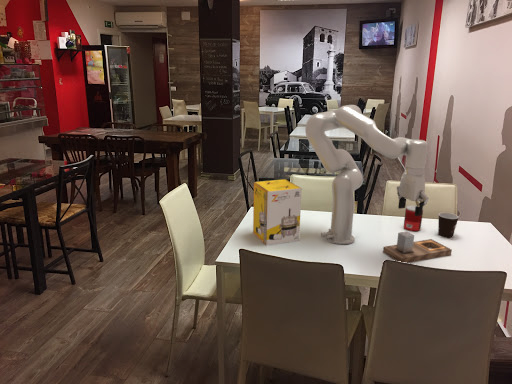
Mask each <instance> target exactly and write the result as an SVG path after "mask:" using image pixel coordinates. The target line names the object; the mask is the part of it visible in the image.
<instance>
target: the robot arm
mask: <svg viewBox="0 0 512 384" xmlns="http://www.w3.org/2000/svg"><path fill="white" fill-rule="evenodd" d="M340 128H345V129H346V130H348V131H349V132H352V133H353V134H355V136H358V137H359V138H361V139H362V140H363V141H364V142H365V143H366V144H367V146H369V147H370V148H371V149H372V150H374V151H375V152H377V153H378V154H381V155H382V156H383V157H386V158H387V159H391V160H392V159H393V160H395V159H397V158H401V157H402V156H405V163H404V164H405V165H404V172H402V175H401V179H400V182H399V186H396V192H397V193H396V194H397V197H398V207H397V208H398V209H406V205H407V203H406V202H407V200H409V201H411V202H414V203H415V206H416V207H415V216H421V215H422V210H423V211H424V207H425V205H426V204H428V203H427V202H428V201H429V200H430V198H429V197H428V195H427V194H426V192H425V191H426V178H425V171H426V164H427V157H428V156H427V155H428V148H429V143H428V141H425V140H423V139H411V138H408V137H402V136H401V137H399V136H398V137H395V138H391V137H389V136H388V135H386V134H384V133H383V132H382V131H381V130H380V129H378V127H377V125H376V121H375V120H373V118H370V117H368V116H366V115H365V114H363V113H362V110H361V108H360V107H359V106H358V105H355V104H347V105H342V106H339V107H338V108H337V109H333V110H328V111H324V112H317V113H314V114H312V116H310V117H309V119H308V120H307V121H306V124H305V128H304V129H305V136H306V139H307V140H308V143H309V144H310V146H312V148H313V150H314V152H315V153H316V156H317V157H318V159H319V161H320V163H321V164H322V166H323V168H324V169H325V171H327V173H330V174H334V173H338V174H336V176H335V177H334V178H333V180H332V182H331V183H332V184H331V189H332V191H331V192H332V204H331V205H332V207H331V219H330V220H331V221H330V223H331V224H330V228H329V229H328V231H327V232H321V233H320V236H321V238H325V237H326V239H327V241H328V242H331V243H332V244H335V245H336V244H337V245H344V246H345V245H350V244H353V243H354V242H355V236H354V235H353V234H352V233H353V222H354V210H355V209H354V208H355V197H354V191H356V190H358V189H359V188H360V187H361V186H362V185H363V181H364V178H363V177H364V176H363V174H362V172H361V170H360V169H359V166H358V165H357V164H356V161H355V160H354V158H353V157H352V155H351V154H350V152H348V151H347V150H345V149H343V148H338V149H337V148H336V146H335V145H334V144H333V141H332V139H330V138H329V137H328V136H327V134H326V133H325V132H328V131H332V130H336V129H340ZM422 216H423V215H422Z"/></svg>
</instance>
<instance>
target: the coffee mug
mask: <svg viewBox="0 0 512 384" xmlns="http://www.w3.org/2000/svg"><path fill="white" fill-rule="evenodd" d="M458 221H459V216H458V215H457V214H455V213H451V212H439V213H438V225H437V226H438V228H437V230H438V231H437V233H438V236H439V237H441V238H445V239H452V238H453V237H454V234H455V231H456V228H457V224H458Z"/></svg>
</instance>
